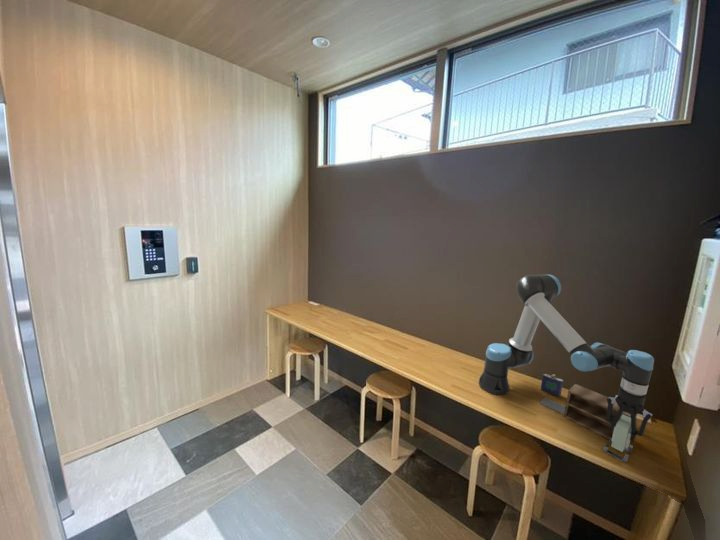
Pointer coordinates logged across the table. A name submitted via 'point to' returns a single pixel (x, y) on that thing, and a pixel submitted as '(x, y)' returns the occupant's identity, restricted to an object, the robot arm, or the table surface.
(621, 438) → the pale green square block
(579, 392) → the cabinet
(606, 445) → the hinge clips
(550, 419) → the table surface
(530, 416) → the table surface
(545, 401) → the smartphone
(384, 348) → the table surface
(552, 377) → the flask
